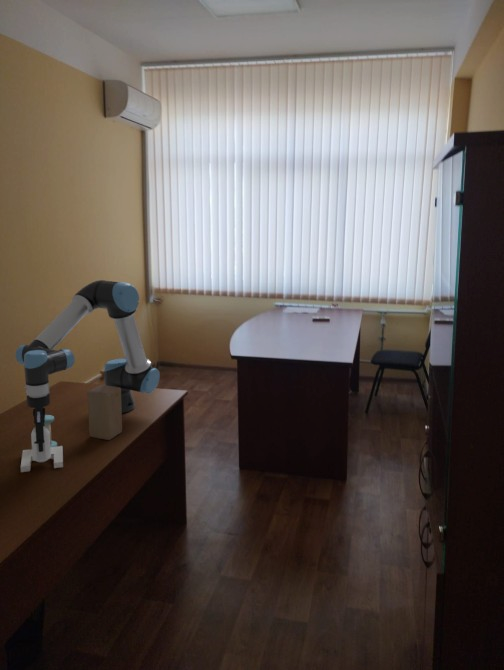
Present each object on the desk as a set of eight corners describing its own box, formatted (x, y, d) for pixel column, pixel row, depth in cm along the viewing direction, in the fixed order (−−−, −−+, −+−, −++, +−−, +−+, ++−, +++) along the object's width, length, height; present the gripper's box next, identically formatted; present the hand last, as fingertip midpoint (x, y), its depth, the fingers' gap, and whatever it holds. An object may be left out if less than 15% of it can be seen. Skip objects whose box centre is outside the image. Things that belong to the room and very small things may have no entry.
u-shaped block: (62, 450, 207) (62, 445, 206) (62, 467, 194) (62, 461, 193) (23, 455, 202) (23, 450, 202) (20, 472, 189) (20, 466, 189)
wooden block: (123, 432, 225) (121, 386, 221) (109, 441, 216) (107, 394, 212) (102, 428, 228) (101, 383, 224) (88, 437, 219) (86, 390, 215)
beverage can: (40, 465, 191) (38, 433, 188) (29, 460, 194) (26, 429, 191) (54, 458, 196) (53, 427, 193) (43, 454, 199) (41, 423, 196)
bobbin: (57, 441, 214) (55, 413, 211) (57, 450, 207) (55, 421, 204) (35, 444, 212) (33, 415, 209) (34, 452, 204) (32, 423, 202)
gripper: (27, 386, 197) (32, 445, 202) (24, 404, 179) (29, 468, 184) (49, 385, 199) (53, 442, 204) (48, 402, 181) (52, 465, 187)
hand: (42, 454), depth 194 cm, fingers closed on beverage can, 6 cm apart
